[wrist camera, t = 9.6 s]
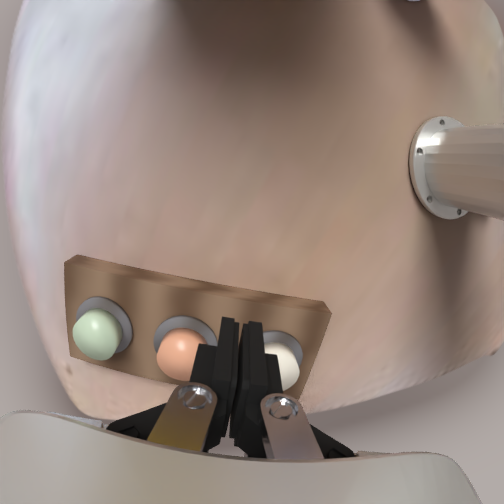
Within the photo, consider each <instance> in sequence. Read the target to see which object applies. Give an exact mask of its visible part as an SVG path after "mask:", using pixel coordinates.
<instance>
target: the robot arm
mask: <svg viewBox="0 0 504 504" xmlns="http://www.w3.org/2000/svg"><path fill="white" fill-rule="evenodd" d="M409 166H410V175H411V180H412V184H413V187H414V190H415V192H416V194H417V196H418V198H419V200H420V202H421V203H422V204H423V206H424V207H425V208H426V209H427V210H428V211H429V212H431V213H432V214H434V215H435V216H437V217H440V218H444V219H450V220H452V219H458V218H460V217H462V216H464V215H465V214H466V213H468V212H469V211H470V212H474V213H477V214H481V215H485V216H489V217H493V218H496V219H500V220H503V221H504V123H501V124H487V125H475V126H464V125H463V124H462V123H460V122H459V121H458V120H456V119H454V118H451V117H447V116H440V117H434V118H431V119H429V120H427V121H425V122H424V123H423V124H422V125H421V126H420V127H419V129H418V130H417V132H416V133H415V136H414V138H413V141H412V144H411V149H410V158H409ZM229 418H230V433H229V437H230V438H234V446H237V447H239V448H240V449H242V450H243V451H244V452H245V453H244V457H238V456H228V455H220V454H213V453H208V452H209V449H211V448H213V447H215V446H217V445H218V444H219V443H220V439H221V437H225V435H226V431H227V426H228V422H229ZM0 504H482V502H481V500H480V498H479V497H478V495H477V493H476V491H475V489H474V487H473V485H472V484H471V482H470V480H469V479H468V477H467V476H466V474H465V473H464V471H463V470H462V469H461V467H460V466H459V465H458V464H457V463H456V462H455V461H454V460H453V459H451V458H449V457H448V456H444V455H441V454H437V453H429V452H401V453H378V452H365V451H358V452H357V453H353V451H352V450H350V449H349V448H348V447H346V446H344V445H343V444H341V443H339V442H338V441H336V440H334V439H333V438H331V437H330V436H328V435H326V434H325V433H323V432H321V431H320V430H318V429H317V428H315V427H313V426H312V425H311V424H309V422H308V419H307V417H306V415H305V412H304V410H303V407H302V406H301V404H300V403H299V402H298V401H297V400H296V399H295V398H293V397H291V396H289V395H286V394H283V388H282V382H281V375H280V369H279V362H278V357H277V355H276V354H268V353H265V347H264V337H263V327H262V322H255V321H249V322H248V324H245V323H243V327H242V332H241V337H240V342H239V322H235V318H229V317H223V316H222V319H221V326H220V332H219V338H218V345H217V346H213V345H207V344H201V343H199V344H198V348H197V352H196V356H195V360H194V364H193V368H192V372H191V376H190V380H189V382H187V383H183V384H181V385H179V386H177V387H176V388H175V389H174V391H173V393H172V394H171V396H170V398H169V400H168V402H167V403H164V404H162V405H159V406H156V407H154V408H151V409H148V410H146V411H143V412H140V413H137V414H134V415H131V416H128V417H125V418H122V419H119V420H116V421H114V422H112V423H111V424H109V425H107V424H103V423H102V421H99V420H92V419H86V418H80V417H74V416H69V415H64V414H59V413H55V412H41V411H31V410H19V411H13V412H10V413H8V414H5V415H4V416H2V417H1V418H0Z"/></svg>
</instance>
